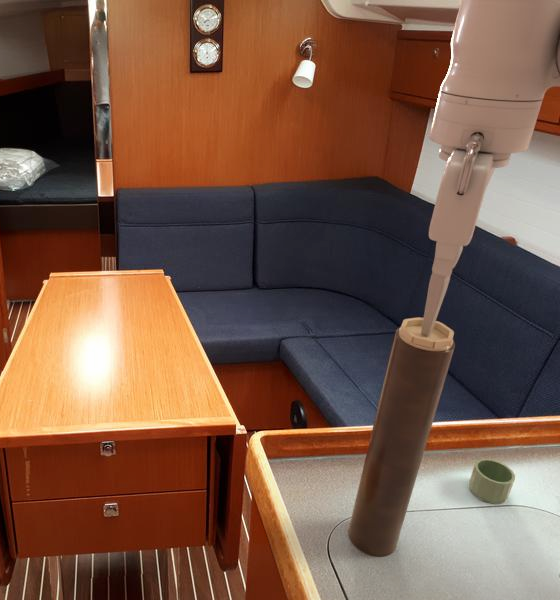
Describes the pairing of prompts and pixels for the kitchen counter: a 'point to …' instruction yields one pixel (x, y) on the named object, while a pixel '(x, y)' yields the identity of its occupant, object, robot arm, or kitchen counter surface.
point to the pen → (435, 298)
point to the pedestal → (397, 445)
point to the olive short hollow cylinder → (491, 481)
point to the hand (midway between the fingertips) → (446, 257)
